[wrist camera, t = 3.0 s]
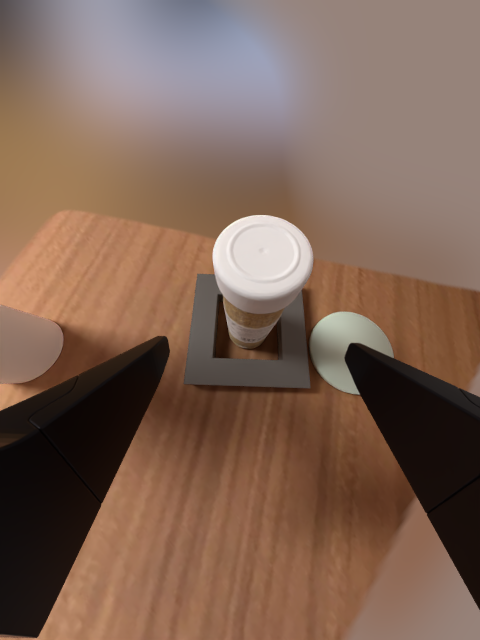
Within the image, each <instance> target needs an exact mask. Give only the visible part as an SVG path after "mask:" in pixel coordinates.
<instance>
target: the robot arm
mask: <svg viewBox="0 0 480 640" xmlns="http://www.w3.org/2000/svg"><path fill="white" fill-rule="evenodd" d="M169 353H170V349H169V344H168V339H167V337H166V336H157V337H155V338H153V339H151V340H149V341H146V342H144V343H142V344H140V345H138V346H136V347H134V348H132V349H130V350H128V351H126V352H124V353H122V354H120V355H118V356H116V357H114V358H112V359H110V360H108V361H106V362H104V363H102V364H100V365H98V366H96V367H94V368H92V369H90V370H88V371H85V372H83V373H81V374H80V375H79V376H75V377H73V378H71V379H69V380H67V381H65V382H63V383H61V384H59V385H57V386H55V387H52V388H50V389H48V390H46V391H44V392H42V393H39V394H37V395H35V396H33V397H31V398H28V399H26V400H24V401H22V402H19V403H17V404H15V405H13V406H10V407H8V408H6V409H3V410H1V411H0V637H13V638H37V637H38V636H39V634H40V632H41V630H42V628H43V626H44V624H45V622H46V620H47V618H48V616H49V614H50V612H51V610H52V608H53V606H54V604H55V602H56V600H57V597H58V595H59V593H60V591H61V589H62V587H63V585H64V583H65V581H66V579H67V576H68V574H69V572H70V570H71V568H72V566H73V564H74V562H75V560H76V558H77V555H78V553H79V551H80V549H81V547H82V545H83V543H84V541H85V539H86V537H87V534H88V532H89V530H90V528H91V526H92V524H93V522H94V520H95V518H96V516H97V513H98V511H99V509H100V507H101V503H102V502H103V500H104V498H105V496H106V494H107V492H108V490H109V488H110V486H111V484H112V482H113V479H114V477H115V475H116V473H117V471H118V469H119V467H120V465H121V463H122V461H123V458H124V456H125V454H126V452H127V450H128V448H129V446H130V444H131V442H132V440H133V437H134V435H135V433H136V431H137V429H138V427H139V425H140V423H141V421H142V419H143V416H144V414H145V412H146V410H147V408H148V406H149V404H150V402H151V400H152V398H153V395H154V393H155V391H156V389H157V387H158V385H159V383H160V380H161V377H162V374H163V372H164V369H165V366H166V363H167V360H168V357H169ZM344 359H345V362H346V365H347V367H348V369H349V372H350V374H351V376H352V379H353V381H354V383H355V385H356V388H357V390H358V392H359V393H360V395H361V397H362V399H363V401H364V402H365V404H366V406H367V408H368V410H369V411H370V413H371V415H372V417H373V419H374V420H375V422H376V424H377V426H378V428H379V429H380V431H381V433H382V435H383V437H384V438H385V440H386V442H387V444H388V446H389V447H390V449H391V451H392V453H393V455H394V456H395V458H396V460H397V462H398V464H399V465H400V467H401V469H402V471H403V473H404V474H405V476H406V478H407V480H408V482H409V483H410V485H411V487H412V489H413V491H414V492H415V494H416V496H417V498H418V500H419V501H420V503H421V505H422V507H423V509H424V510H425V512H426V513H427V516H428V518H429V520H430V521H431V523H432V525H433V527H434V528H435V530H436V532H437V534H438V536H439V538H440V539H441V541H442V543H443V545H444V547H445V548H446V550H447V552H448V554H449V556H450V558H451V559H452V561H453V563H454V565H455V567H456V568H457V570H458V572H459V574H460V576H461V577H462V579H463V581H464V583H465V584H466V586H467V588H468V590H469V592H470V594H471V595H472V597H473V599H474V601H475V603H476V604H477V606H478V608H479V610H480V397H478V396H476V395H474V394H471V393H469V392H467V391H465V390H463V389H460V388H457V387H456V386H454V385H452V384H449V383H447V382H445V381H443V380H441V379H438V378H436V377H434V376H432V375H429V374H427V373H425V372H423V371H421V370H418V369H416V368H414V367H412V366H410V365H407V364H405V363H403V362H401V361H399V360H396V359H394V358H392V357H390V356H388V355H385V354H383V353H381V352H379V351H377V350H374V349H372V348H370V347H368V346H365V345H363V344H361V343H350V344H349V346H348V348H347V351H346V354H345V357H344Z"/></svg>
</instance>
